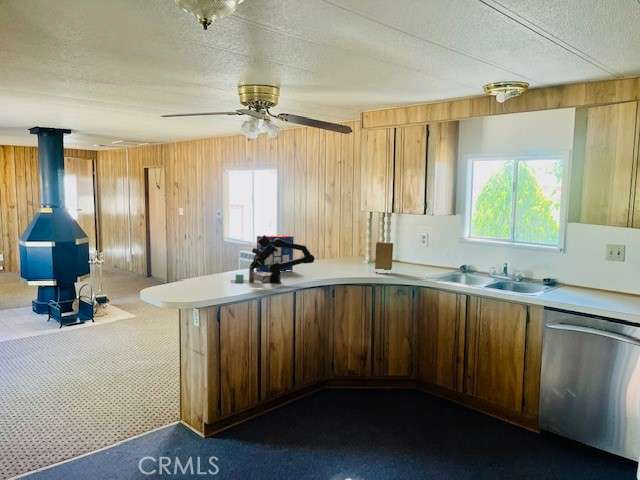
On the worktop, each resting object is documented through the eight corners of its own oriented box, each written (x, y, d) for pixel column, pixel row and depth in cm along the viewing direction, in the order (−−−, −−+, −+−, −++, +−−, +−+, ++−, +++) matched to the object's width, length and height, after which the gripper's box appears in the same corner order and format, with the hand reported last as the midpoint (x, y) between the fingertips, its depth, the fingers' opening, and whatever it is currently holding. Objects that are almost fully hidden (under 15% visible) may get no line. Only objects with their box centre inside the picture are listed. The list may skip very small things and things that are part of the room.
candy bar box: (262, 271, 348) (276, 274, 336) (262, 277, 348) (276, 281, 336) (249, 272, 340) (263, 275, 328) (249, 279, 341) (263, 283, 329)
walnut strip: (257, 281, 333) (258, 265, 332) (259, 284, 322) (259, 268, 321) (230, 281, 329) (230, 265, 328) (230, 284, 318) (231, 268, 317)
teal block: (243, 280, 328) (243, 273, 327) (243, 282, 323) (243, 274, 322) (235, 280, 327) (235, 273, 326) (235, 282, 322) (236, 274, 321)
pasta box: (287, 269, 390) (289, 235, 387) (292, 271, 383) (293, 236, 381) (256, 271, 376) (257, 236, 373) (260, 273, 369) (261, 237, 366)
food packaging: (392, 272, 394) (393, 242, 392) (390, 274, 385) (392, 243, 383) (376, 271, 398) (377, 241, 395) (374, 273, 389) (375, 242, 386)
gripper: (257, 242, 334) (241, 257, 333) (260, 245, 316) (242, 261, 315) (268, 253, 336) (252, 269, 335) (271, 257, 318) (254, 273, 317)
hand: (250, 268), depth 325 cm, fingers open, 9 cm apart
